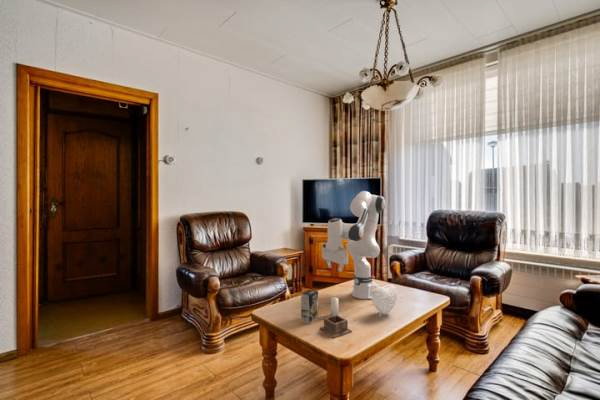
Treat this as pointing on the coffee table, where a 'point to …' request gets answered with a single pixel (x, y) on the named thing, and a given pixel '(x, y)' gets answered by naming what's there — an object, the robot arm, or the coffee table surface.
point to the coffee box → (309, 306)
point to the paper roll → (334, 306)
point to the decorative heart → (384, 298)
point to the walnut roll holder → (335, 326)
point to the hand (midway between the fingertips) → (334, 269)
